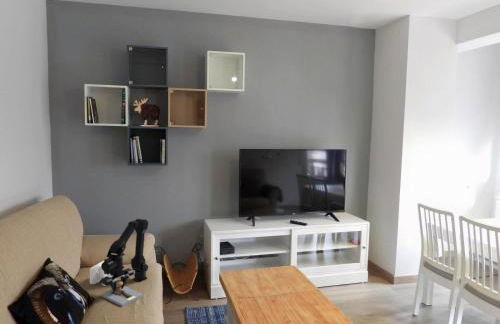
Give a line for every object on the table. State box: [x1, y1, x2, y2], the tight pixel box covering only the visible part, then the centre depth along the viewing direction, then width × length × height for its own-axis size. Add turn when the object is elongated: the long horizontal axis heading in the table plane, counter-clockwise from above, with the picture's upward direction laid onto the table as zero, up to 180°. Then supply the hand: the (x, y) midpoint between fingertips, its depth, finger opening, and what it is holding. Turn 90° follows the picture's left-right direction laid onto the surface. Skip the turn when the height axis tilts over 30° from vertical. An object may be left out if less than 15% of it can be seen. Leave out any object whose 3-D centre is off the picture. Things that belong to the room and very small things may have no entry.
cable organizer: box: [89, 260, 117, 287], centre depth 219 cm, size 15×11×12 cm
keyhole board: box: [100, 285, 144, 307], centre depth 202 cm, size 20×14×2 cm
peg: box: [114, 279, 123, 296], centre depth 204 cm, size 5×5×8 cm
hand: (118, 290), depth 204 cm, fingers closed on peg, 5 cm apart
